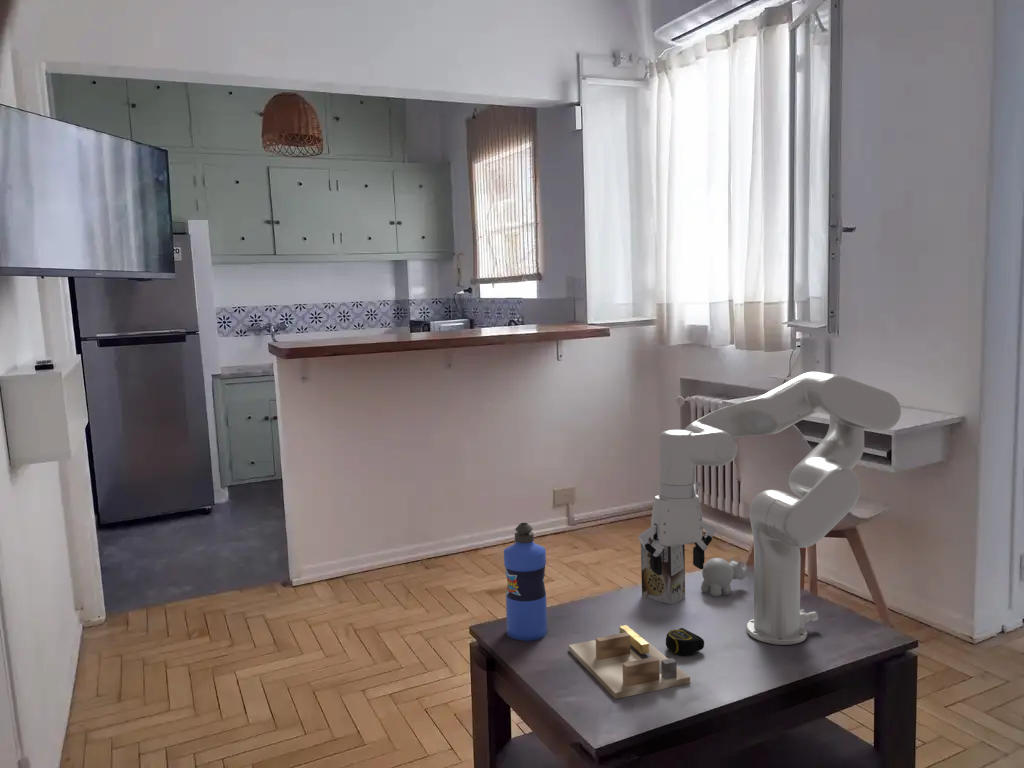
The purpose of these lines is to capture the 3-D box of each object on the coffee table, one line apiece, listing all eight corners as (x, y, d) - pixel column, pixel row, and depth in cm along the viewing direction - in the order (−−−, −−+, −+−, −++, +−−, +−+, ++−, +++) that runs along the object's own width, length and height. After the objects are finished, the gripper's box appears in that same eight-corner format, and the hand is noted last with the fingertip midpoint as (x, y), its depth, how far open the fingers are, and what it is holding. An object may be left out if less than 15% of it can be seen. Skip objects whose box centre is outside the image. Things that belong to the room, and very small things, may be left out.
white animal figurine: (756, 592, 198) (756, 557, 197) (713, 600, 194) (713, 565, 193) (737, 582, 205) (737, 549, 204) (696, 590, 201) (696, 556, 200)
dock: (636, 637, 175) (635, 614, 174) (690, 682, 154) (690, 657, 153) (568, 650, 170) (568, 626, 169) (615, 699, 149) (614, 672, 148)
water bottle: (535, 620, 185) (532, 515, 183) (555, 635, 177) (552, 525, 174) (499, 629, 181) (495, 522, 178) (518, 644, 173) (514, 532, 170)
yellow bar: (626, 633, 173) (626, 624, 172) (648, 652, 163) (648, 643, 163) (619, 634, 172) (619, 626, 172) (641, 654, 163) (641, 644, 162)
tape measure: (706, 653, 166) (706, 636, 166) (680, 661, 163) (680, 644, 163) (684, 641, 172) (684, 624, 172) (659, 648, 169) (658, 631, 169)
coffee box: (686, 597, 196) (686, 533, 194) (671, 605, 192) (671, 540, 190) (655, 588, 203) (654, 526, 201) (640, 596, 198) (639, 533, 196)
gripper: (705, 482, 171) (705, 559, 173) (631, 489, 166) (632, 569, 168) (724, 490, 164) (723, 570, 166) (647, 498, 159) (648, 581, 161)
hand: (677, 570), depth 167 cm, fingers open, 9 cm apart
